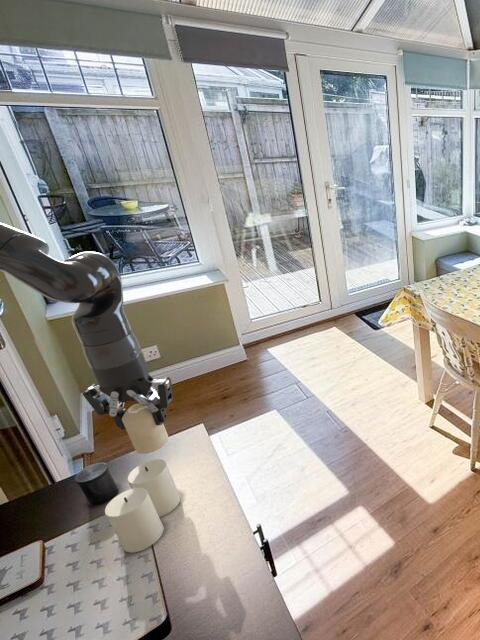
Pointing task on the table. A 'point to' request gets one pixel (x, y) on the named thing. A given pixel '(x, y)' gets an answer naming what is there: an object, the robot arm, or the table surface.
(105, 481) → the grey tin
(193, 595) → the table surface
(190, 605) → the table surface
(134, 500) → the candle
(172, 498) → the candle
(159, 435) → the candle
